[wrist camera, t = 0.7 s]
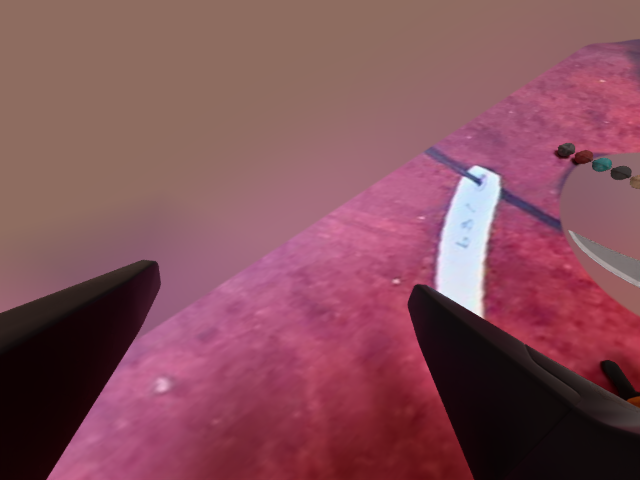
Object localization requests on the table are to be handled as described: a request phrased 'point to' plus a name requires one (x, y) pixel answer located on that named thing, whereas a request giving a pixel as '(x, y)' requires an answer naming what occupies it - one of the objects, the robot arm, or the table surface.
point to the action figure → (621, 383)
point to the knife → (610, 259)
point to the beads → (599, 164)
